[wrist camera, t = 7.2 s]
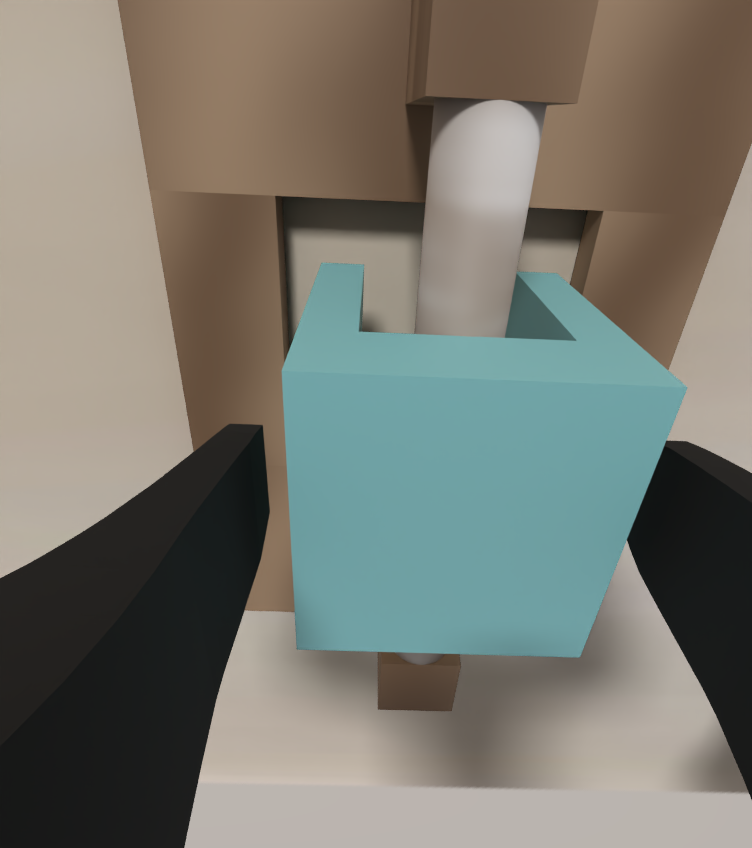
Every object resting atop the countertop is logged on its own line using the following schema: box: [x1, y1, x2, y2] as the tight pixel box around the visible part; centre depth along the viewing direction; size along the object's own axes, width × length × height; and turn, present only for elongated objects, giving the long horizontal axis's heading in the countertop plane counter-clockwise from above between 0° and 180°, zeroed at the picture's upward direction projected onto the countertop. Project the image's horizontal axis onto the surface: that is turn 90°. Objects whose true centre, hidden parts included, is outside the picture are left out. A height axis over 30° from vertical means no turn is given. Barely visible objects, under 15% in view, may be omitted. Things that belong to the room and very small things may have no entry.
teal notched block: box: [282, 263, 687, 658], centre depth 11 cm, size 6×6×6 cm
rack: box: [118, 0, 752, 711], centre depth 13 cm, size 14×22×6 cm, turn 178°
